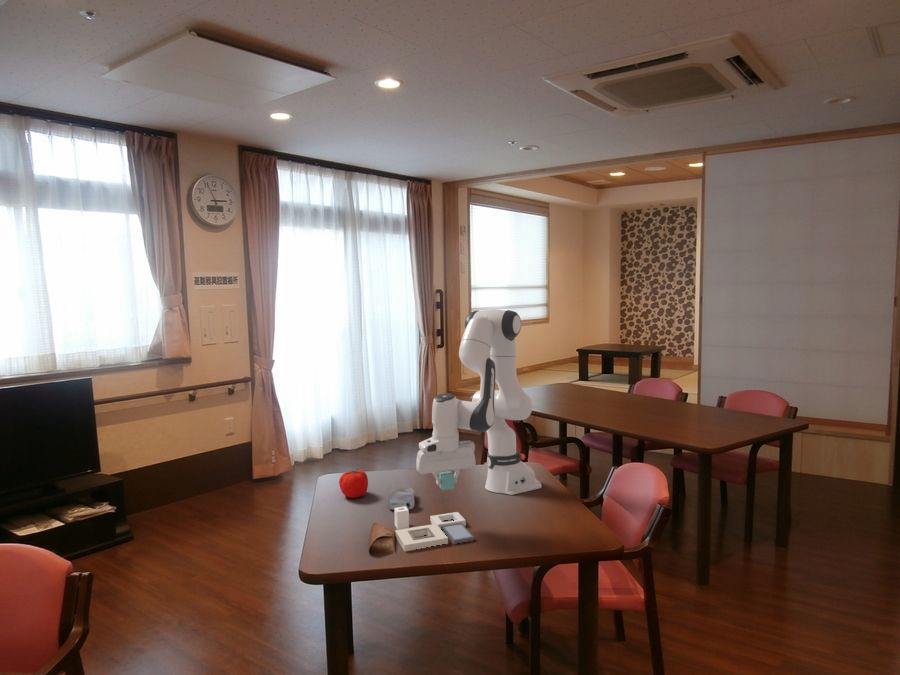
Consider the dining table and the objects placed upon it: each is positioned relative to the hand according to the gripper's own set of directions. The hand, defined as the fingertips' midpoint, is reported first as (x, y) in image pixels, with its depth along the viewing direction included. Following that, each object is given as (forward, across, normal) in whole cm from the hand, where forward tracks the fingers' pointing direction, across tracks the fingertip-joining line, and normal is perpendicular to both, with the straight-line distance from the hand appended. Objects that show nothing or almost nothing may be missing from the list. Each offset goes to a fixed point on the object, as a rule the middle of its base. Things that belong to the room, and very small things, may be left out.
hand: (446, 483), depth 198 cm
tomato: (+14, +25, -40) cm, 49 cm away
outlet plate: (+14, +12, +9) cm, 21 cm away
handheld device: (+15, +9, -26) cm, 32 cm away
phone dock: (+14, 0, +6) cm, 15 cm away
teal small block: (+2, 0, 0) cm, 2 cm away
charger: (+14, +15, -4) cm, 21 cm away
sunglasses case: (+15, +23, +6) cm, 28 cm away
